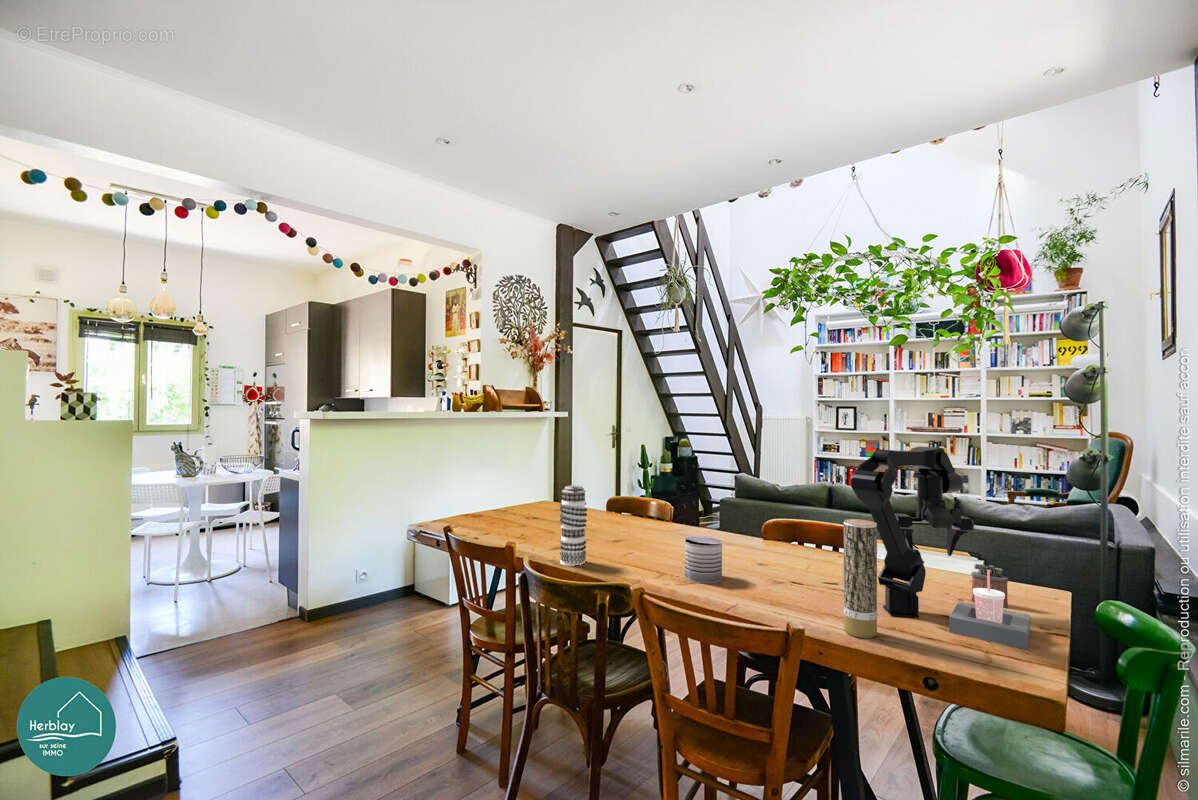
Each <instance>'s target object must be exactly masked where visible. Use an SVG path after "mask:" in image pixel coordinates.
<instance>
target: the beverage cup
mask: <svg viewBox="0 0 1198 800" xmlns="http://www.w3.org/2000/svg"><path fill="white" fill-rule="evenodd" d="M973 594H974V596H975V602H974V605H975V609H976V618H977V619H982V620H987V621H992V622H996V623H1001V624H1002V618H1003V610H1004V608H1003V602H1004V599H1005V594H1004V593H1003V592H1001V591H997V590H993V589H990V570H987V588H974V589H973Z"/></svg>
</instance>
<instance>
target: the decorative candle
mask: <svg viewBox="0 0 1198 800" xmlns="http://www.w3.org/2000/svg"><path fill="white" fill-rule="evenodd" d="M561 492H562V493H561V496H562V497H561V498H562V499H561V502H560V503H559V506H560V507H559V511H560V514H559V517H560V518H559V519H560V520H559V522H560V523H561V524H560V528H561V538H560V539H561V540H560V542H559V543H560V547H559V548H560V549H561V550H560V552H559V555H560V556H559V560H560V561H559V562H560V563H559V564H561V565H563V566H565V567H566V566H568V567H576V566H575V565H580V564H582V563H584V562H585V561H586V559H587V556H586V554H587V551H586V548H587V546H586V544H587V541H586V535H585V531H586V529H585V528H587V524H586V523H587V521H588V520H587V519H586V518H585V517H586V516H588V514H587V513H586V512H588V508H586V507H585V506H586V505H587V502H586V492H587V490H585V489H584V487H583V486H582V485H576V484H575V485H567V486H564V489H563V490H561ZM580 566H581V565H580Z"/></svg>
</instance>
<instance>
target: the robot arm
mask: <svg viewBox="0 0 1198 800" xmlns="http://www.w3.org/2000/svg"><path fill="white" fill-rule="evenodd" d="M945 451H946V450H945V448H943V447H937V446H935V447H934V446H933V447H932V446H916V447H913V448H911V449H910V450H894V449H883V448H882V449H877V450H875V451H874V452H873V453H872V455H871V456H870V457H869V458H867V459H866V460H864V461H863V462H861V463H860V464H859V465H858V466H857V467H856V469H855V470H854V472H853V474H852V475H851V477H850V480H849V481H850V482H849V483H850V487H851V489H852V491H853V493H854V495H855V496H856V498H857V499H858V500H860V501H861V502H862V503H864V505H866V506H867V507H868V509H869V511H870V514H871V517H872V519H873V520H872V521H873V522H875V523H877V524H876V525H877V533H878V534H879V536H880V539H881V541H882V543H883V546H884V549H885V550H886V555H885V557H884V560H883V563H884V565H883V568H882V569H881V571H880V573H879V574H878V575H877V581H878V584H879V585H880V586H885V587H884V589H885V591H884V592H885V593H884V596H885V597H884V599H885V600H884V601H885V603H884V604H885V605H882V608H883V609H884V611H886V612H887V613H888V614H889V615H890V616H892V617H900V618H901V617H902V618H904V617H905V618H920V615H919V614H918V613H919V610H920V609H919V607H920V605H919V604H920V603H919V599H920V598H919V596H918V595H917V593H920V592H923V589H924V584H925V579H926V573H927V572H926V568H925V565H924V564H925V561H924V560H923V558H922V555H921V552H920V550H919V549H916V548H914V542H913V541H914V540H913V533H914V529H913V528H911V527H913V525H915V526H917V525H919V526H920V525H921V526H930V527H931V528H934V529H946V552H947V553H946V554H947V556H949V557H951V556H952V554H953V553H954V550H955V548H956V545H957V543H958V541H959V540H960V538H961V537H962V536H963V535H964V534H968V533H969V531H975V524H974V523H975V522H974V521H973V520H972V518H969V517H967V516H965V515H962V511H961V510H960V509H959V508H947V507H946V500H944V494H951V493H952V494H953V493H958V492H959V491H960V490H961V489H962V487H963V484H964V483H963V479H962V477H961V476H960V475H959V474H958V473H957V472H956V469H955V467H954V466H953V464H952V461H951V459H950V457H949V455H948V453H947V452H945ZM880 466H882V467H887V469H886V470H885V472H883V471H875V470H877V469H878V468H880ZM898 466H902V467H903V466H905V467H907V466H911V467H912V468H917V471H915V472H914V474H913V475H912V477H913V478H915V479H916V478H917V480H916V481H917V482H916V483H917V485H916V486H917V489H916V491H917V493H916V494H917V496H915V501H916V503H917V511H916V512H915V516H913V517H911V516H910V515H908V514H906V513H895V512H894V508H893V506H892V504H891V497H892V494H893V491H894V490H893V485H894V484H895V482H896V481H897V472H896V468H897V467H898Z"/></svg>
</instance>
